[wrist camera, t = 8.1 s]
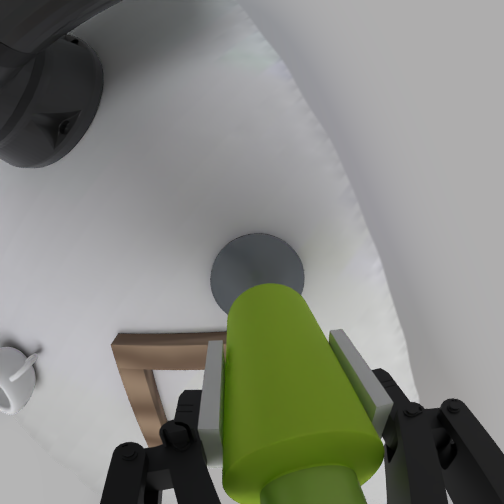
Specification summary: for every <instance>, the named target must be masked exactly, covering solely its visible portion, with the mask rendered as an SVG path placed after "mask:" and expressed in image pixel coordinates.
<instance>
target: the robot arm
mask: <svg viewBox="0 0 504 504" xmlns="http://www.w3.org/2000/svg"><path fill="white" fill-rule="evenodd" d="M120 1H122V0H0V159H2V160H4V161H5V162H7V163H9V164H11V165H13V166H16V167H21V168H39V167H44V166H47V165H50V164H52V163H54V162H56V161H57V160H59V159H60V158H62V157H63V156H64V155H66V154H67V153H68V152H69V151H70V150H71V149H72V148H73V147H74V146H75V145H76V144H77V143H78V141H79V140H80V139H81V138H82V136H83V135H84V133H85V132H86V130H87V129H88V127H89V125H90V123H91V121H92V119H93V117H94V115H95V113H96V110H97V108H98V105H99V101H100V98H101V93H102V86H103V71H102V66H101V62H100V60H99V57H98V56H97V54H96V52H95V51H94V50H93V49H92V48H91V47H90V46H88V45H87V44H86V43H85V42H84V41H82V40H81V39H79V38H77V37H75V36H71V35H66V34H67V33H68V32H70V31H71V30H73V29H74V28H76V27H77V26H79V25H80V24H82V23H83V22H85V21H87V20H88V19H90V18H92V17H93V16H95V15H97V14H98V13H100V12H102V11H104V10H105V9H107V8H109V7H111V6H113V5H115V4H117V3H118V2H120ZM329 345H330V346H331V348H332V350H333V352H334V354H335V355H336V357H337V359H338V361H339V363H340V365H341V366H342V368H343V370H344V372H345V374H346V376H347V377H348V379H349V381H350V383H351V385H352V387H353V389H354V390H355V392H356V394H357V396H358V398H359V400H360V402H361V403H362V405H363V407H364V409H365V411H366V413H367V415H368V417H369V419H370V420H371V422H372V424H373V426H374V428H375V430H376V432H377V434H378V436H379V438H380V440H381V438H382V437H383V439H384V440H385V445H384V451H385V453H384V462H385V474H386V490H387V504H448V500H447V495H446V490H447V492H448V494H449V496H450V498H451V500H452V502H453V504H504V454H503V453H502V451H501V450H500V448H499V447H498V446H497V445H496V443H495V442H494V440H493V439H492V438H491V436H490V435H489V434H488V433H487V431H486V430H485V429H484V427H483V426H482V425H481V424H480V422H479V421H478V420H477V418H476V417H475V416H474V415H473V413H472V412H471V411H470V410H469V409H468V407H467V406H466V405H465V404H464V403H463V402H462V401H460V400H458V399H447V400H445V401H444V402H443V403H442V404H441V407H440V408H434V409H424V408H423V406H421V405H420V404H418V403H415V402H410V401H409V400H408V398H407V397H406V396H405V394H404V393H403V392H402V390H401V389H400V388H399V386H398V385H397V384H396V382H395V381H394V380H393V378H392V377H391V376H390V374H389V373H388V372H386V371H385V370H383V369H381V368H379V369H375V370H371V369H370V368H369V366H368V365H367V363H366V362H365V360H364V359H363V358H362V356H361V355H360V353H359V352H358V350H357V349H356V348H355V346H354V345H353V343H352V342H351V341H350V339H349V338H348V336H347V335H346V334H345V332H344V331H343V329H339V330H331V331H330V334H329ZM224 391H225V357H224V348H223V340H216V341H209V342H208V350H207V357H206V365H205V372H204V380H203V388H202V390H184V392H183V393H182V394H181V395H180V396H179V400H178V404H177V405H178V406H177V409H176V414H175V418H174V420H171V421H168V422H166V423H165V424H163V425H162V426H161V428H160V429H159V435H160V438H161V440H162V443H163V444H161V445H159V446H155V447H150V448H143V447H142V446H141V445H139V444H138V443H134V442H126V443H123V444H120V445H119V446H118V447H116V448H115V450H114V452H113V455H112V459H111V463H110V466H109V470H108V474H107V478H106V482H105V486H104V490H103V494H102V498H101V502H100V504H161V502H162V490H165V489H171V488H174V491H175V495H176V498H177V502H178V504H221V502H220V500H219V497H218V495H217V493H216V490H215V488H214V485H213V482H212V480H211V477H210V475H209V472H208V469H207V465H208V468H223V423H224ZM445 488H446V489H445Z"/></svg>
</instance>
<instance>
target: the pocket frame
mask: <svg viewBox="0 0 504 504" xmlns="http://www.w3.org/2000/svg"><path fill="white" fill-rule="evenodd" d="M216 340H223V348H224V357H225V364H226V340H227V332H209V333H177V334H120V333H118V335H117V336H116V338H115V339H114V341H113V342H112V344H111V347H112V351H113V354H114V357H115V360H116V364H117V367H118V370H119V373H120V376H121V379H122V382H123V385H124V388H125V390H126V393H127V396H128V399H129V401H130V404H131V407H132V409H133V412H134V414H135V417H136V419H137V422H138V424H139V426H140V429H141V431H142V433H143V436H144V438H145V440H146V442H147V445H148V447H149V448H150V447H155V446H159V445H161V444H163V443H162V440H161V438H160V435H159V429H160V428H161V426H162V425H163V424H165V423H166V422H167V419H166V416H165V413H164V409H163V406H162V403H161V400H160V396H159V393H158V390H157V386H156V383H155V379H154V376H153V372H152V370H205V365H206V357H207V350H208V342H209V341H216Z"/></svg>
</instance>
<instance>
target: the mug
mask: <svg viewBox="0 0 504 504" xmlns="http://www.w3.org/2000/svg"><path fill="white" fill-rule="evenodd" d="M37 358H38V355H37V354H36V353H35V354H32V355H31V356H30V357H28V358H27V357H26V356H25V355H24V354H23V353H22V352H21V351H19V350H18V349H16V348H12V347H3V348H0V411H2V412H4V413H5V414H9V415H13V414H16V413H18V412H19V411H20V410H21V409H23V407H24V406H25V405H26V404H27V402H28V401H29V399H30V397H31V395H32V393H33V390H34V387H35V381H36V377H35V371H34V368H33V366H32V365H33V363H34V362H35V361H36V360H37Z"/></svg>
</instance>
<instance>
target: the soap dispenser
mask: <svg viewBox="0 0 504 504" xmlns="http://www.w3.org/2000/svg"><path fill="white" fill-rule="evenodd" d="M384 453H385V451H384V446H383V443H382V441H381V440H380V438H379V436H378V434H377V432H376V430H375V428H374V426H373V424H372V422H371V420H370V419H369V417H368V415H367V413H366V411H365V409H364V407H363V405H362V403H361V402H360V400H359V398H358V396H357V394H356V392H355V390H354V389H353V387H352V385H351V383H350V381H349V379H348V377H347V376H346V374H345V372H344V370H343V368H342V366H341V365H340V363H339V361H338V359H337V357H336V355H335V354H334V352H333V350H332V348H331V346H330V345H329V343H328V341H327V339H326V337H325V336H324V334H323V332H322V330H321V328H320V327H319V325H318V323H317V321H316V319H315V318H314V316H313V314H312V312H311V310H310V309H309V307H308V305H307V303H306V302H305V300H304V299H303V297H302V296H301V295H300V294H299V293H298V292H296V291H295V290H293V289H292V288H290V287H287V286H285V285H281V284H274V283H268V284H261V285H257V286H254V287H252V288H250V289H248V290H246V291H245V292H243V293H242V294H241V295H240V296H239V297H238V298H237V299H236V300H235V301H234V303H233V304H232V306H231V308H230V311H229V314H228V320H227V340H226V364H225V391H224V423H223V468H222V469H223V470H222V474H223V475H222V484H223V488H224V490H225V492H226V493H227V495H228V496H229V497H230V498H232V499H233V500H234V501H236V502H238V503H240V504H367V502H366V499H365V496H364V494H363V491H362V489H361V485H363V484H364V483H365V482H366V481H368V480H369V479H370V478H371V477H372V476H373V475H374V474H375V473H376V471H377V470H378V469H379V467H380V465H381V464H382V461H383V459H384Z"/></svg>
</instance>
